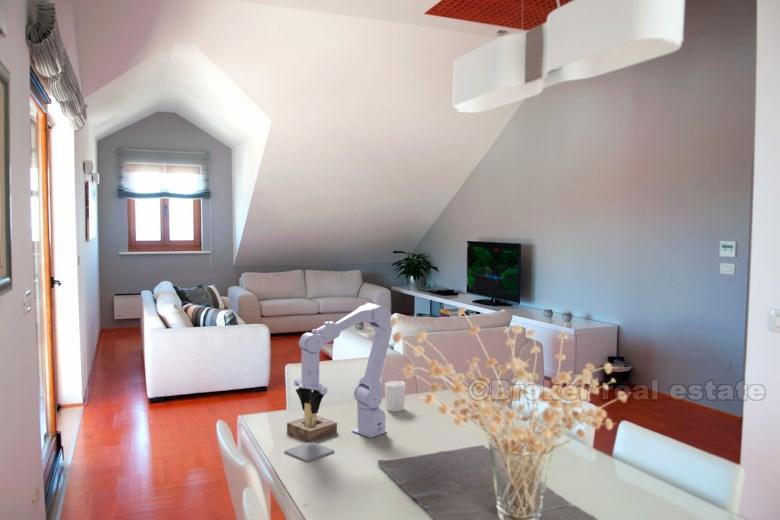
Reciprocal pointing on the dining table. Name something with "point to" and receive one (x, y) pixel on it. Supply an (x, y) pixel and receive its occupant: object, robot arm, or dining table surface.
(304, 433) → the block
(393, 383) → the white cup
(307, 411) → the brass cylinder
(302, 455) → the pad
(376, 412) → the robot arm
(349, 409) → the dining table surface
